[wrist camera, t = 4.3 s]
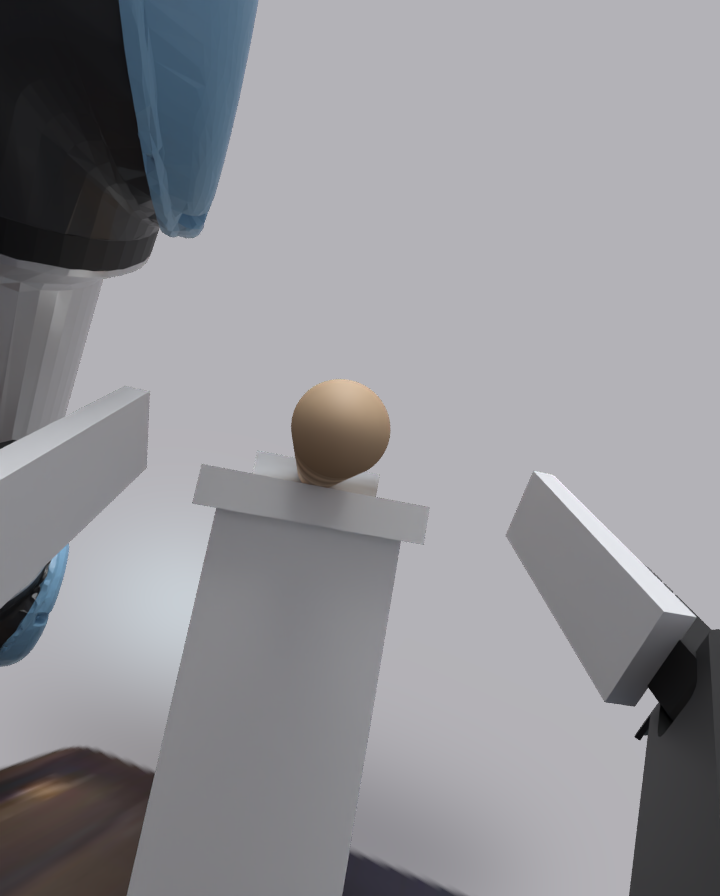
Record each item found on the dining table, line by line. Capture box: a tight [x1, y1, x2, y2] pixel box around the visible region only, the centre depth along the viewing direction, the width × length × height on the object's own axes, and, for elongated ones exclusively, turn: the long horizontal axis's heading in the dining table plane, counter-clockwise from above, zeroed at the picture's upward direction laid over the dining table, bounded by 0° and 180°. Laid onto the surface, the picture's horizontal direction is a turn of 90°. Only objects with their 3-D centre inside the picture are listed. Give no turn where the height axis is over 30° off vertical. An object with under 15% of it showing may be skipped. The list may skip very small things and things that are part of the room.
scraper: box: [252, 379, 390, 497], centre depth 24 cm, size 23×9×3 cm, turn 8°
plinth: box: [127, 464, 429, 896], centre depth 27 cm, size 14×12×30 cm
